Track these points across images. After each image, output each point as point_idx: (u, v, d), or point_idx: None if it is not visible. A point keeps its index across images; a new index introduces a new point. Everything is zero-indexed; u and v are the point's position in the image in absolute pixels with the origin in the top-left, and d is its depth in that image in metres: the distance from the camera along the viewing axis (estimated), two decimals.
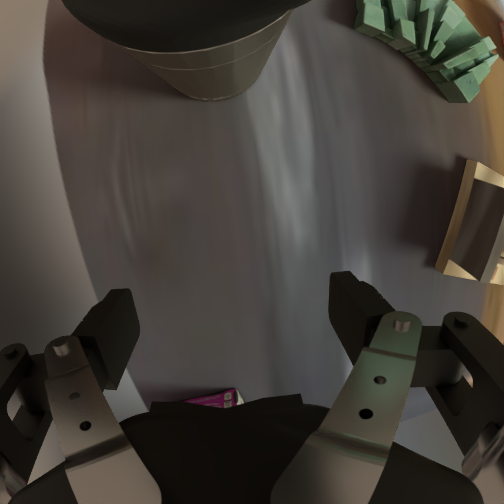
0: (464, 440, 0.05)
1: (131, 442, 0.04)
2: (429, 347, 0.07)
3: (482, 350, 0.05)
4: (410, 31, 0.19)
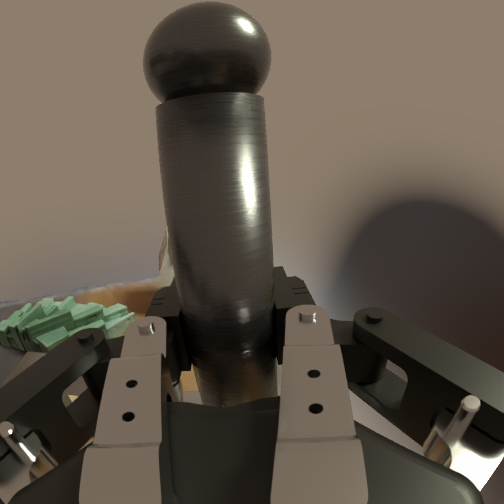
0: (413, 429, 0.06)
1: (171, 444, 0.04)
2: (336, 341, 0.08)
3: (407, 342, 0.06)
4: (15, 321, 0.28)
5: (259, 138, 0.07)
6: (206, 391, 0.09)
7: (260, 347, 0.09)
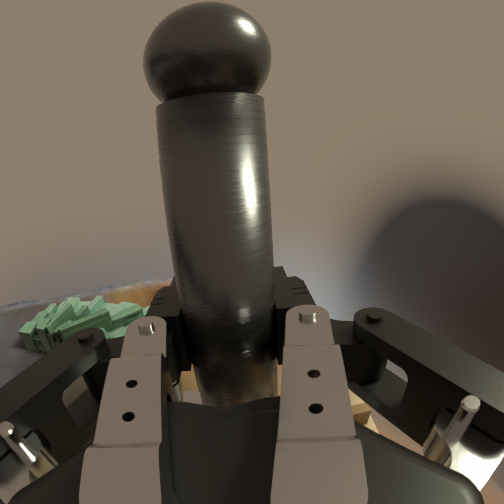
0: (413, 429, 0.06)
1: (171, 444, 0.04)
2: (336, 341, 0.08)
3: (408, 342, 0.06)
4: (43, 323, 0.28)
5: (259, 138, 0.07)
6: (206, 391, 0.09)
7: (260, 347, 0.09)
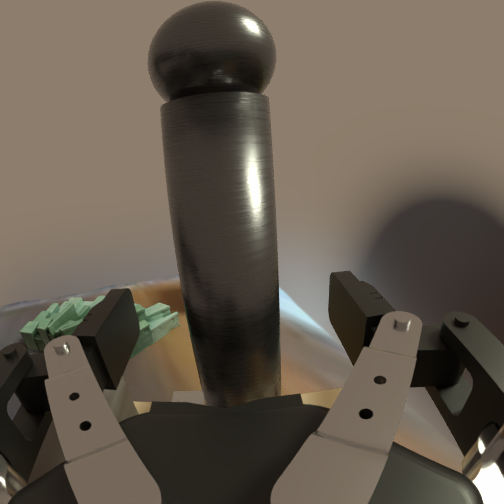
0: (464, 440, 0.05)
1: (131, 442, 0.04)
2: (429, 347, 0.07)
3: (482, 350, 0.05)
4: (45, 323, 0.28)
5: (264, 138, 0.07)
6: (209, 391, 0.09)
7: (265, 347, 0.09)
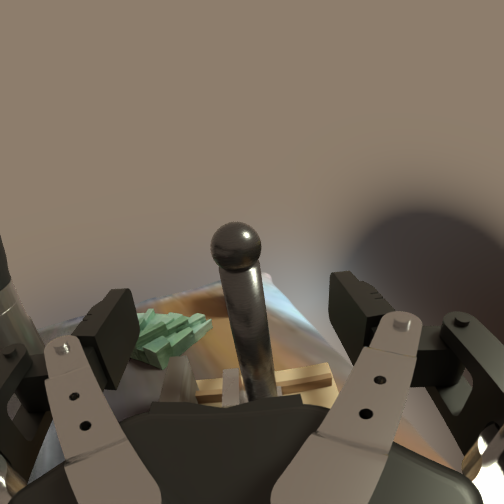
0: (464, 440, 0.05)
1: (131, 442, 0.04)
2: (429, 347, 0.07)
3: (482, 350, 0.05)
4: None
5: (258, 282, 0.22)
6: (243, 366, 0.24)
7: (263, 348, 0.24)
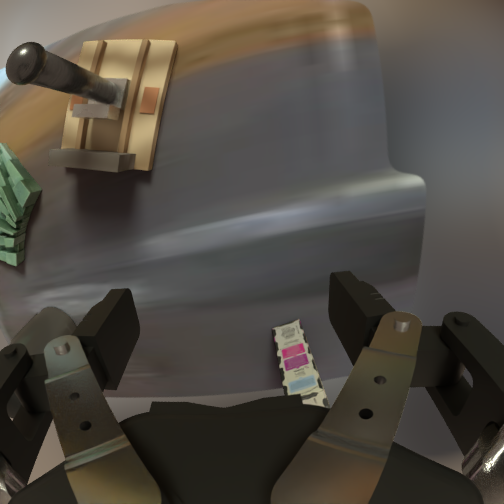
0: (464, 440, 0.05)
1: (131, 442, 0.04)
2: (429, 347, 0.07)
3: (482, 350, 0.05)
4: (9, 241, 0.36)
5: (53, 54, 0.16)
6: (87, 91, 0.24)
7: (85, 71, 0.22)
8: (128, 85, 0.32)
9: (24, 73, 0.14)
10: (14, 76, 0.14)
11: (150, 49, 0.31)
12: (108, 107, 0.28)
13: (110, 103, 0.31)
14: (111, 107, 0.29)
